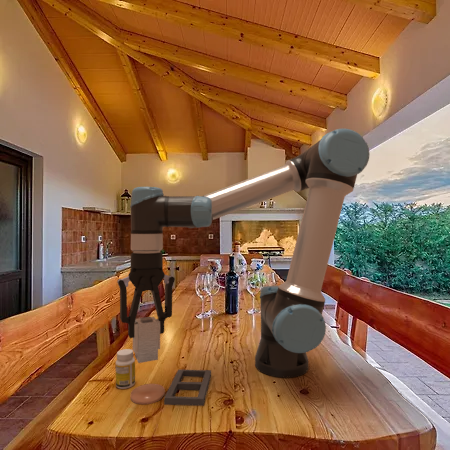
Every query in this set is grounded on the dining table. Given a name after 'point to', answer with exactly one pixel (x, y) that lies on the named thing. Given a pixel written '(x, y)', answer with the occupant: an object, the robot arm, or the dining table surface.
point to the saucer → (147, 394)
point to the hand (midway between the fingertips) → (146, 348)
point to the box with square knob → (147, 339)
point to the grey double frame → (188, 388)
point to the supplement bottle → (125, 369)
